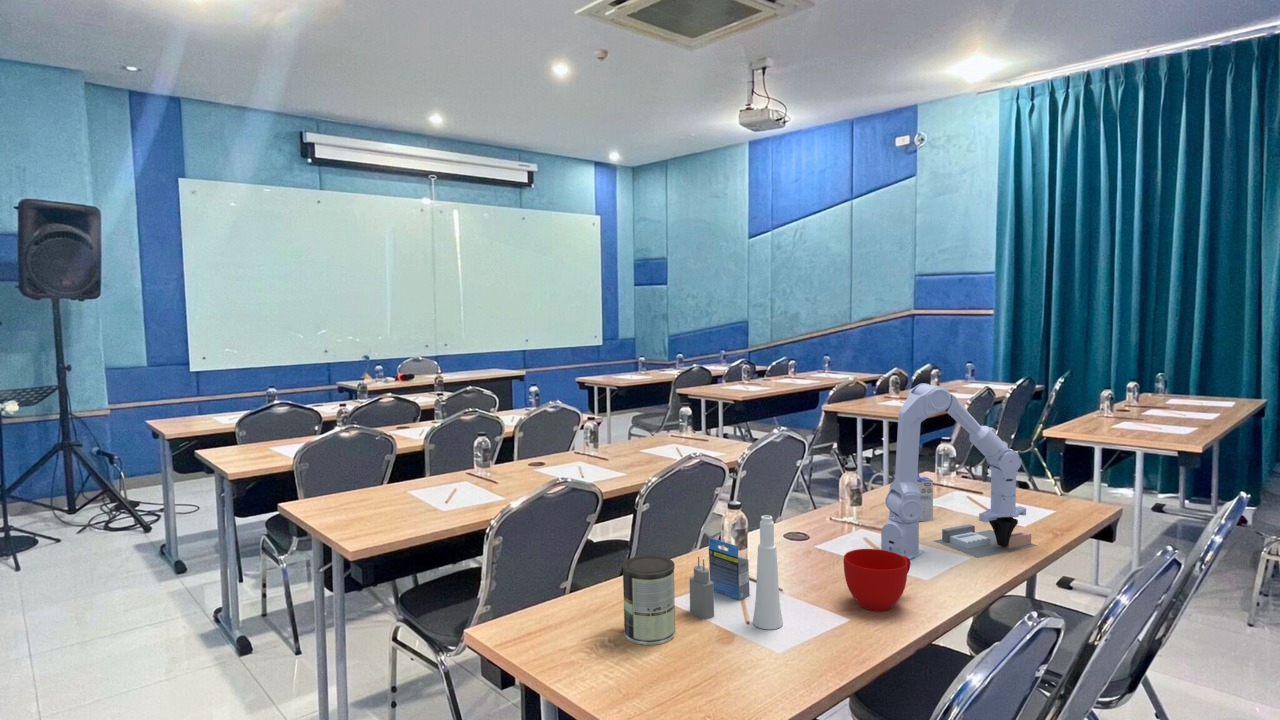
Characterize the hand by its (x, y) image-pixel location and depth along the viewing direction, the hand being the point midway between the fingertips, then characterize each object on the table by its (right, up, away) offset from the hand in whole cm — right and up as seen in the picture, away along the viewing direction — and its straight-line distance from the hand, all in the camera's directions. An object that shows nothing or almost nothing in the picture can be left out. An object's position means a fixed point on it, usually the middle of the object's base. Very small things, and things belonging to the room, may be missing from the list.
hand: (1002, 545), depth 182 cm
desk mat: (-3, -1, +4) cm, 5 cm away
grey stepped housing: (-7, 0, +5) cm, 8 cm away
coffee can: (-92, -6, -43) cm, 101 cm away
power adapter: (-81, -6, -34) cm, 88 cm away
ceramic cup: (-42, -4, -31) cm, 52 cm away
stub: (+4, 0, +3) cm, 5 cm away
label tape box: (-74, -5, -24) cm, 78 cm away
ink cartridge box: (-12, 0, +27) cm, 30 cm away
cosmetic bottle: (-68, -6, -39) cm, 79 cm away
